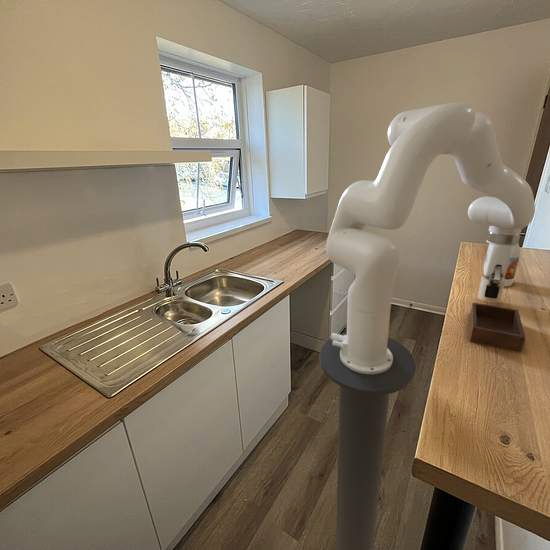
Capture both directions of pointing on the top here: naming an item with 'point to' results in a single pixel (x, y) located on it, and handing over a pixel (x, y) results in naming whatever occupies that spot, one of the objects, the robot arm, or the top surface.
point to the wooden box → (496, 327)
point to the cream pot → (483, 287)
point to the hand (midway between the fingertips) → (490, 292)
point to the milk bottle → (512, 265)
